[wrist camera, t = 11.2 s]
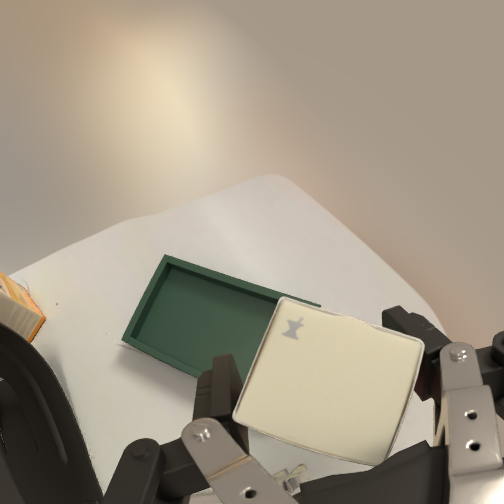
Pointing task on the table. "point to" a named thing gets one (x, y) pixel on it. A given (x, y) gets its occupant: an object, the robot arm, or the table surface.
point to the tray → (201, 317)
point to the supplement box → (18, 309)
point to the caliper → (211, 502)
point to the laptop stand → (39, 433)
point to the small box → (330, 383)
